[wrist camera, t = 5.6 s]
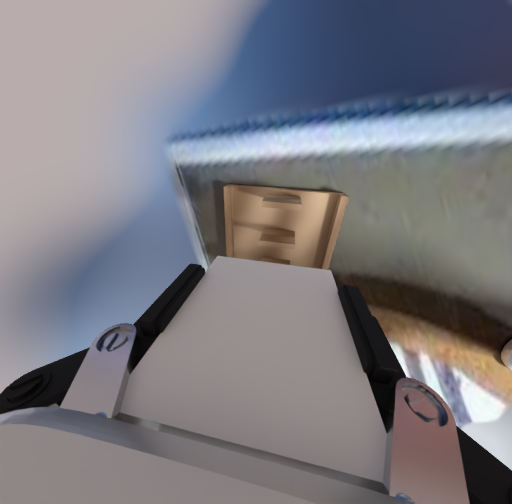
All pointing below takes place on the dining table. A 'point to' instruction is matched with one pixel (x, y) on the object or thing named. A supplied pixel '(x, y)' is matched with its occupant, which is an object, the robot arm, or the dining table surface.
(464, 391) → the dining table surface
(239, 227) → the dish rack
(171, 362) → the low beige gift box
